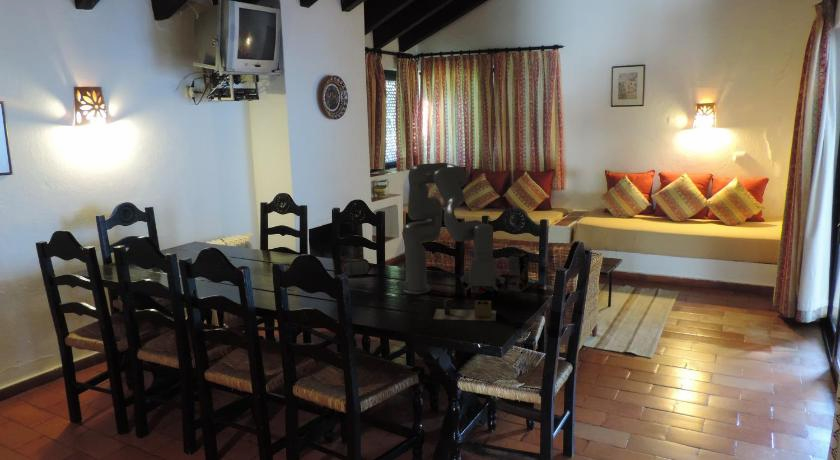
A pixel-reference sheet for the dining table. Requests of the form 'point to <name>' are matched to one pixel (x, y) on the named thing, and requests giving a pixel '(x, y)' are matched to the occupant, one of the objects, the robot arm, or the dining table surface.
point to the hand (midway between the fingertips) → (482, 298)
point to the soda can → (478, 289)
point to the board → (459, 314)
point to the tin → (355, 267)
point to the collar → (482, 309)
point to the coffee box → (518, 272)
